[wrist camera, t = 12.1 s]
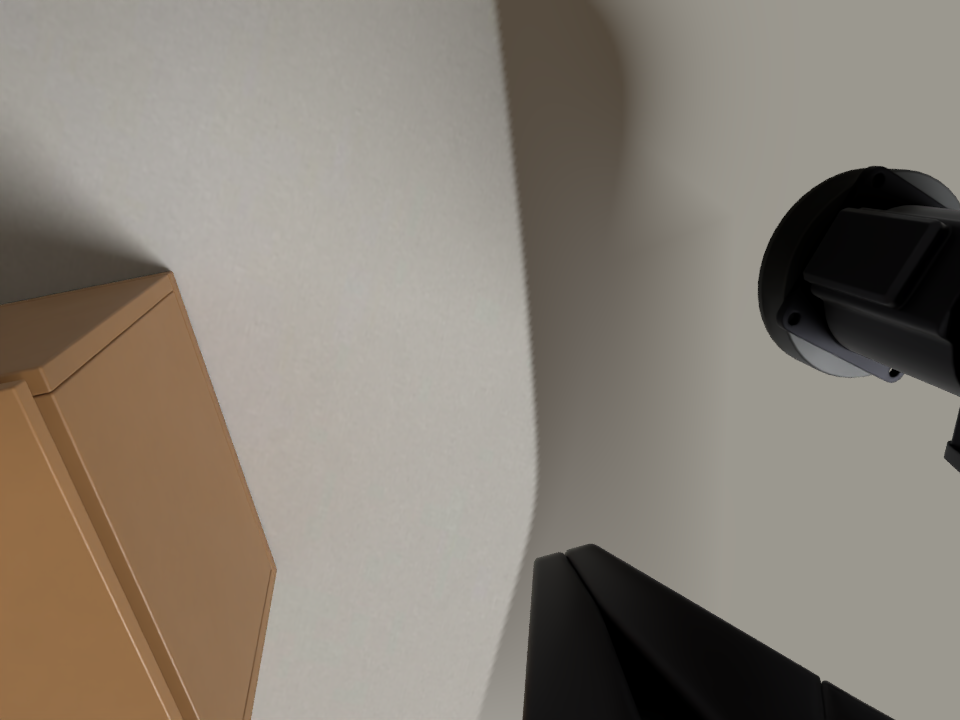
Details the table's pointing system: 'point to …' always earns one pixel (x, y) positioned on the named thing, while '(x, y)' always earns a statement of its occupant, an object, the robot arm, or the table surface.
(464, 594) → the table surface
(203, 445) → the carton
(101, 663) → the flap
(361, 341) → the table surface
